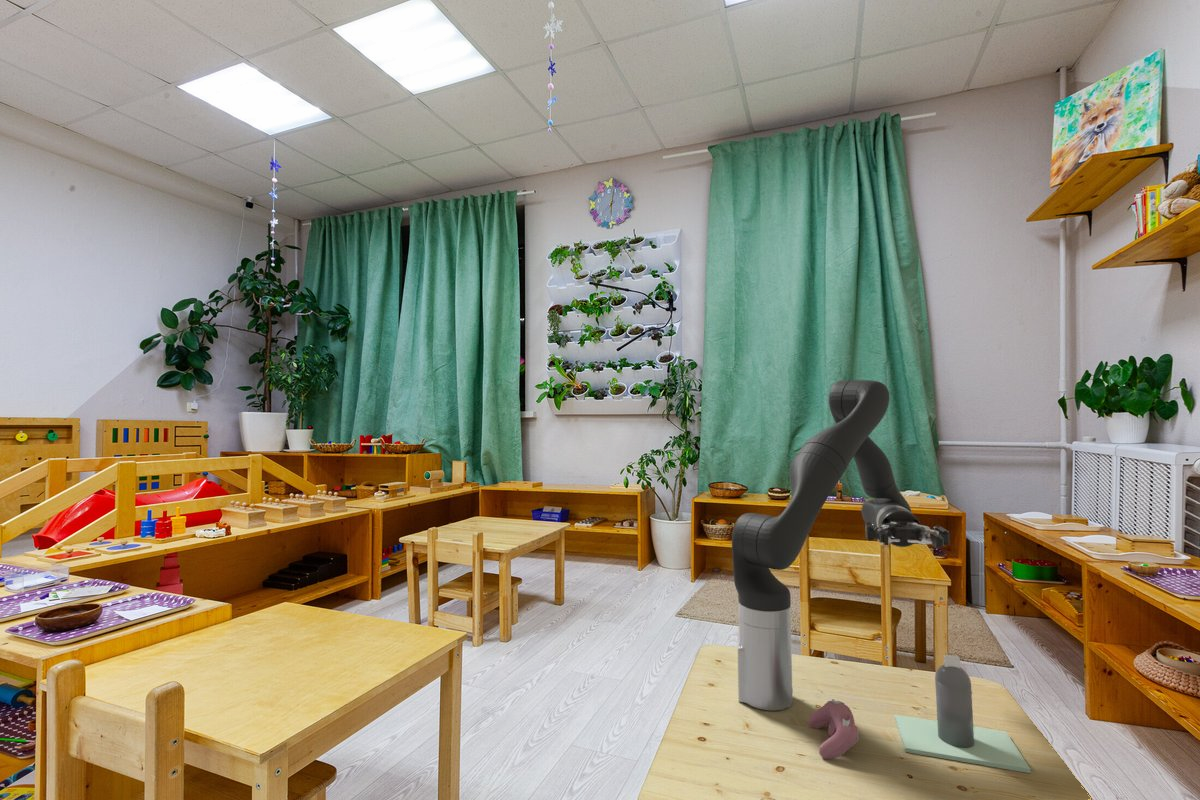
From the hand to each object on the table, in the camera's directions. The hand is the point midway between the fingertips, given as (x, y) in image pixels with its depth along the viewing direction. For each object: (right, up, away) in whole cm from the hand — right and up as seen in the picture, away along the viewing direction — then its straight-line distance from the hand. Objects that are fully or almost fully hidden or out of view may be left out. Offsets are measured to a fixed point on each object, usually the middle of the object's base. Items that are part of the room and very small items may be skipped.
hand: (912, 541), depth 103 cm
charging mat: (-2, -28, -16) cm, 32 cm away
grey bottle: (-2, -27, -16) cm, 31 cm away
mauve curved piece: (-21, -28, -16) cm, 38 cm away
